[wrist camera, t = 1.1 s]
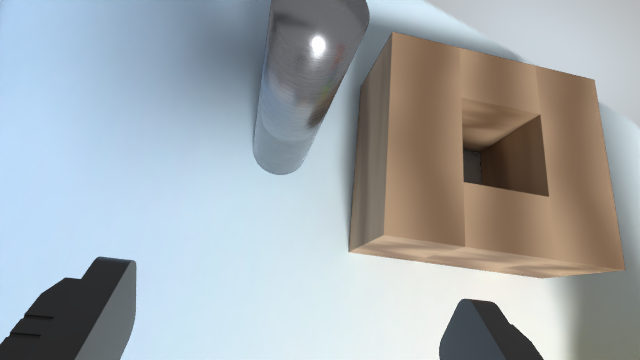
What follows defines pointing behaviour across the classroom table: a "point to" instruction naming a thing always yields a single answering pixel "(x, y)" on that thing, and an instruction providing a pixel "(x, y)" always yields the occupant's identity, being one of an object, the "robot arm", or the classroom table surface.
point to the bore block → (496, 165)
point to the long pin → (303, 74)
